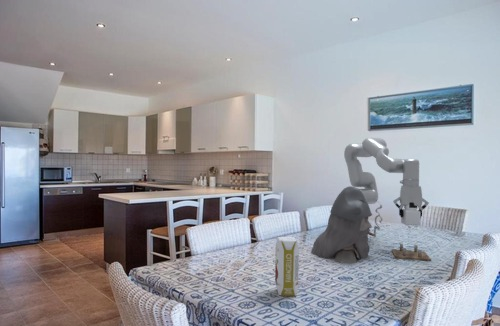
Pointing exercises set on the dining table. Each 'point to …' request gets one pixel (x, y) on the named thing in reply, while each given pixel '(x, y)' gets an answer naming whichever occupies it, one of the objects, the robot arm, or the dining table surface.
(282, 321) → the dining table surface
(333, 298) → the dining table surface
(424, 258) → the wooden peg board
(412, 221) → the white capped block
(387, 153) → the robot arm
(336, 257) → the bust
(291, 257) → the juice carton
